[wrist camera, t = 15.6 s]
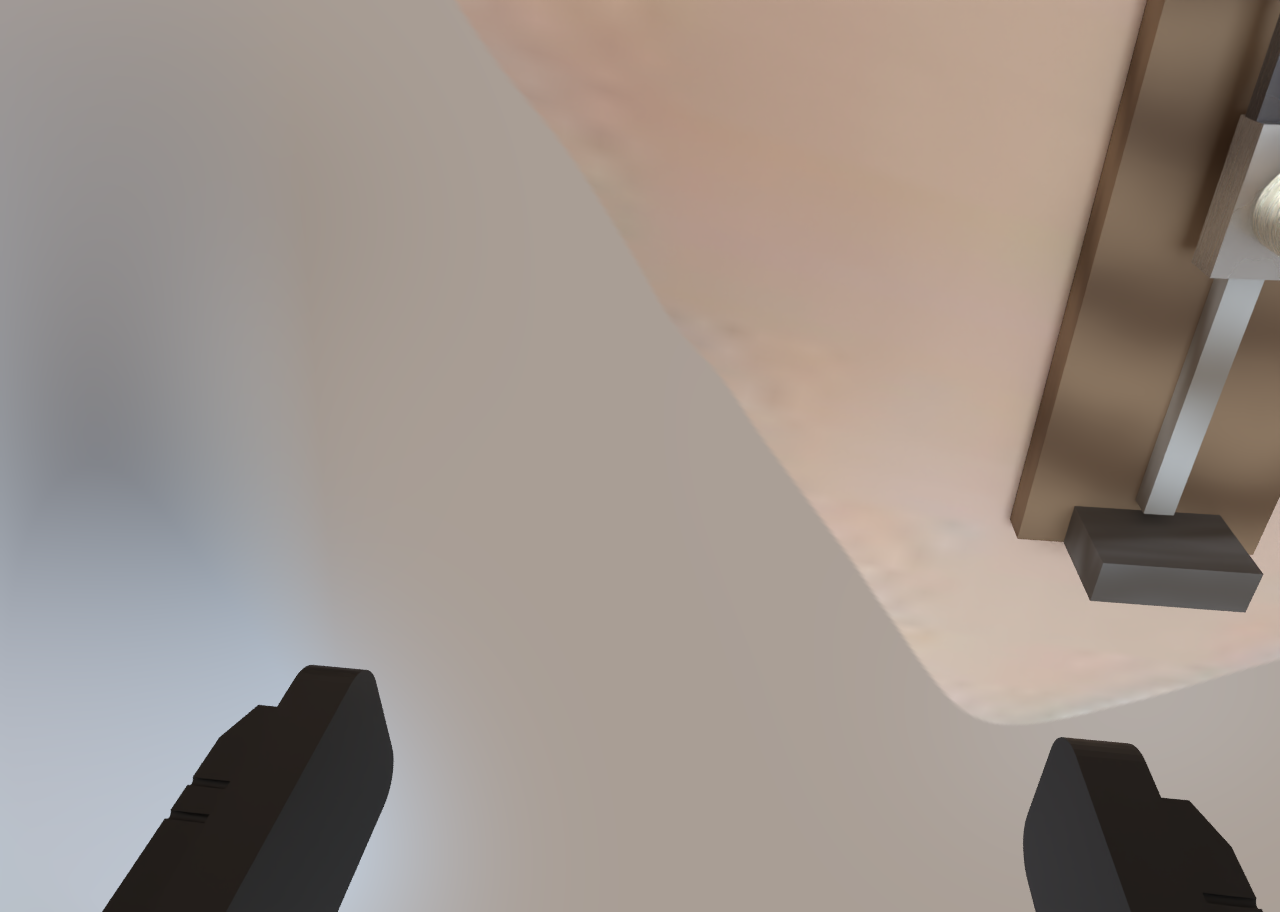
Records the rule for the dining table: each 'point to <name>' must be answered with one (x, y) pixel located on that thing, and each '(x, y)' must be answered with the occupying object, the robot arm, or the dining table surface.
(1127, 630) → the dining table surface
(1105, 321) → the track
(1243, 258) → the slider
